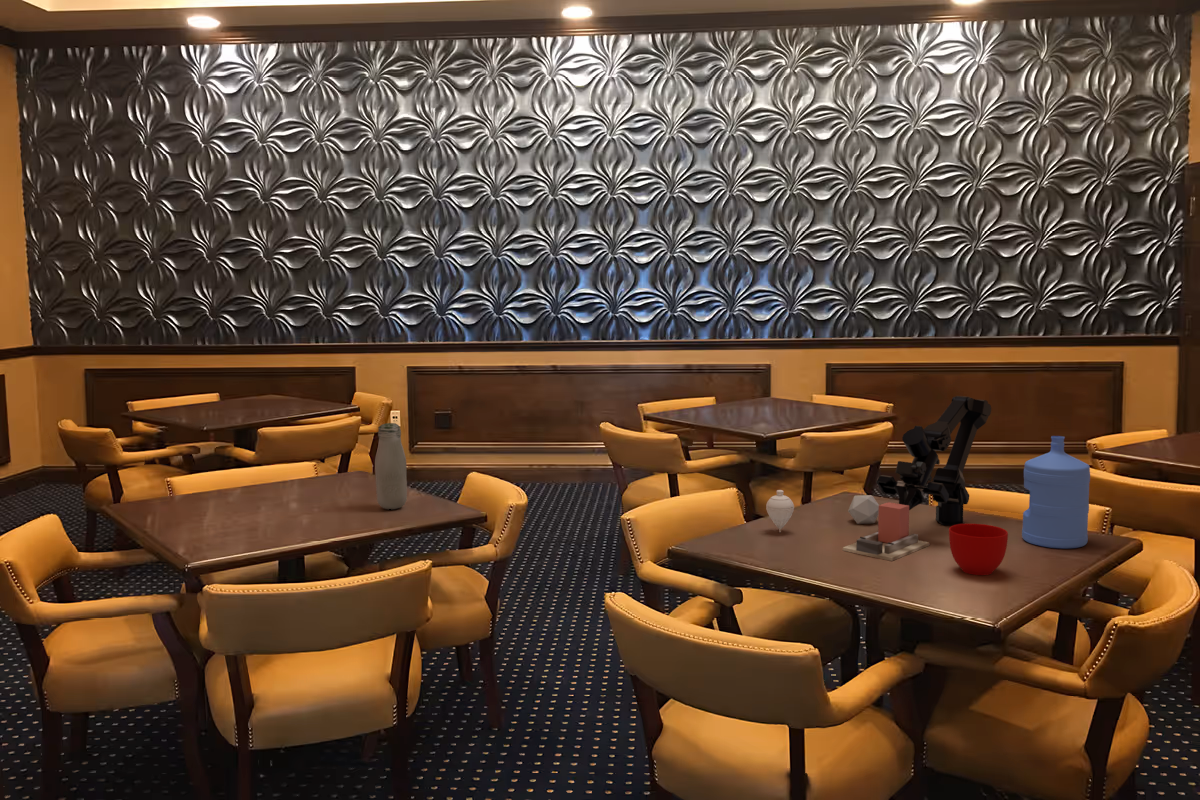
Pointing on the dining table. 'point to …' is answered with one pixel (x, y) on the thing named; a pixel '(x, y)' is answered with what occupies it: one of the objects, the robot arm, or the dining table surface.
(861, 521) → the die
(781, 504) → the spinning top
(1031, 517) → the water jug
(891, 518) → the pink upright block
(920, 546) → the press stand
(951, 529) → the ceramic cup
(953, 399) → the robot arm
